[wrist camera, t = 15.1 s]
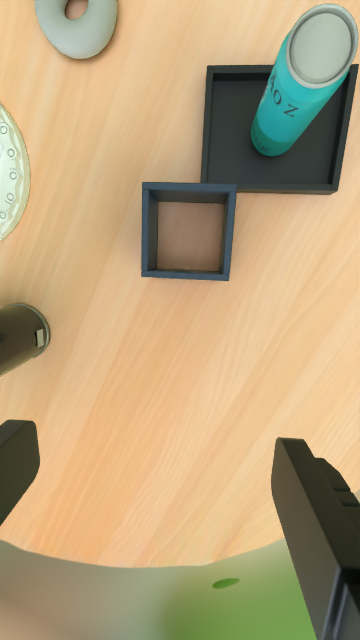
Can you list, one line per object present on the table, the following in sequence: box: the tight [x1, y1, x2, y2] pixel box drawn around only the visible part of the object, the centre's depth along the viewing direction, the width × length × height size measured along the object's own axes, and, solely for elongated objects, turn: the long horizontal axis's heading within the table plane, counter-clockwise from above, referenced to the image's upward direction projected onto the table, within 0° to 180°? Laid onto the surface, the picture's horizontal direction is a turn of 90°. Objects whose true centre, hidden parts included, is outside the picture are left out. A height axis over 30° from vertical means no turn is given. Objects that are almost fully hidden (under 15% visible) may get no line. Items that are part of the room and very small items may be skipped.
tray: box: [201, 64, 359, 195], centre depth 34 cm, size 18×14×2 cm
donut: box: [34, 0, 117, 59], centre depth 32 cm, size 10×4×10 cm
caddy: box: [141, 182, 237, 281], centre depth 35 cm, size 11×11×7 cm
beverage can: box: [251, 3, 358, 156], centre depth 27 cm, size 6×6×15 cm
